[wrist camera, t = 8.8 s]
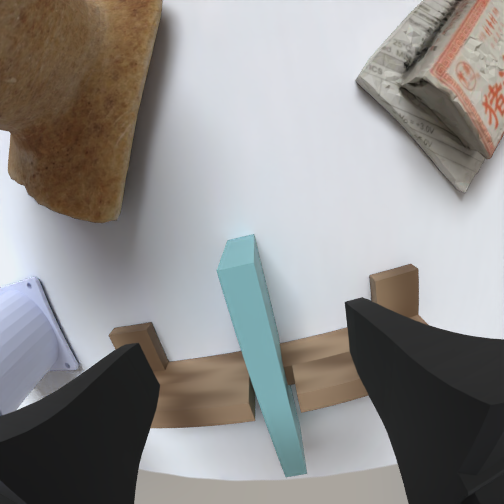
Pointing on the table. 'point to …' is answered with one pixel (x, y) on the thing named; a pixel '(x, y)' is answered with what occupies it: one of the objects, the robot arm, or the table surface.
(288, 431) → the slotted panel
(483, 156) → the packaged product
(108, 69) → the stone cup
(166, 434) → the table surface
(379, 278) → the notched board
